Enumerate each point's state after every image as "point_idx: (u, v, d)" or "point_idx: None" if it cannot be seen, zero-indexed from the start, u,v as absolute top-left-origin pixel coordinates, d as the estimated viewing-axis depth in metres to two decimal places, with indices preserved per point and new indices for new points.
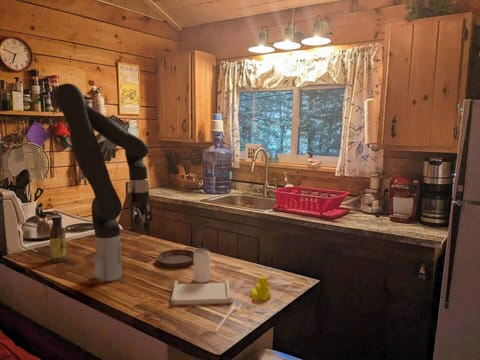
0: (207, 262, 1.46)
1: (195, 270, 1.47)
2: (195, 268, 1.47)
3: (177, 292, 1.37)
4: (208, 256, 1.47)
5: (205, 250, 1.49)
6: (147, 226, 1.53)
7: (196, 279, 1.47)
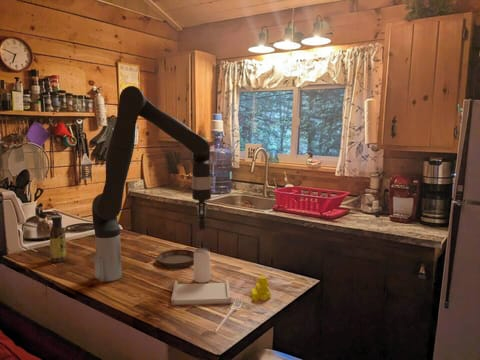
0: (207, 262, 1.46)
1: (195, 270, 1.47)
2: (195, 268, 1.47)
3: (177, 292, 1.37)
4: (208, 256, 1.47)
5: (205, 250, 1.49)
6: None
7: (196, 279, 1.47)
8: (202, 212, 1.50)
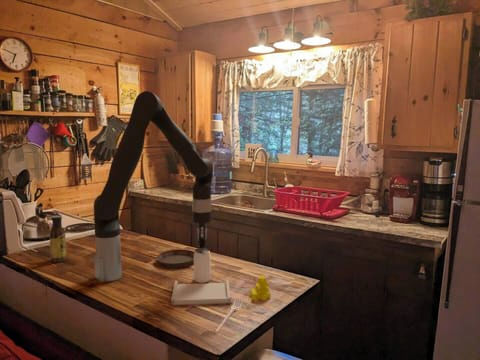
0: (207, 262, 1.46)
1: (195, 270, 1.47)
2: (195, 268, 1.46)
3: (177, 292, 1.37)
4: (208, 257, 1.46)
5: (205, 250, 1.48)
6: None
7: (196, 279, 1.47)
8: (203, 236, 1.45)
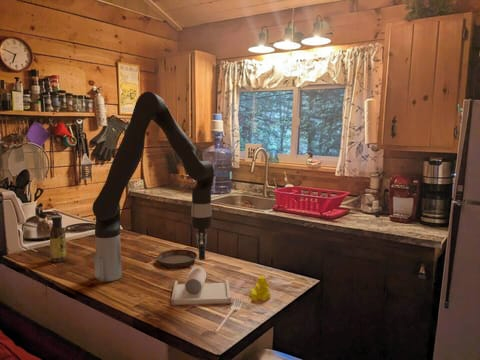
0: None
1: None
2: None
3: (177, 292, 1.37)
4: (202, 287, 1.36)
5: (196, 283, 1.34)
6: None
7: None
8: (202, 242, 1.38)
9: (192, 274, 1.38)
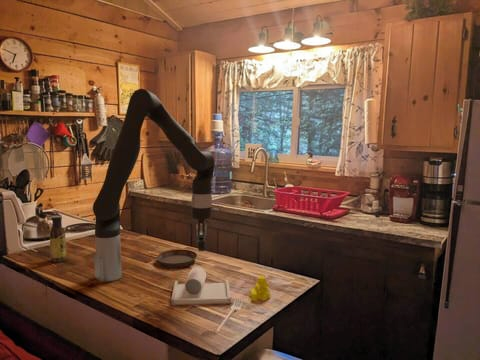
0: None
1: None
2: None
3: (177, 292, 1.37)
4: (202, 287, 1.36)
5: (196, 283, 1.34)
6: None
7: None
8: (202, 233, 1.38)
9: (192, 274, 1.38)
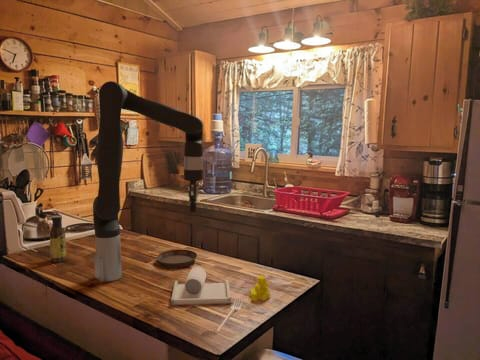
0: None
1: None
2: None
3: (177, 292, 1.37)
4: (202, 287, 1.36)
5: (196, 283, 1.34)
6: None
7: None
8: (193, 193, 1.45)
9: (192, 274, 1.38)
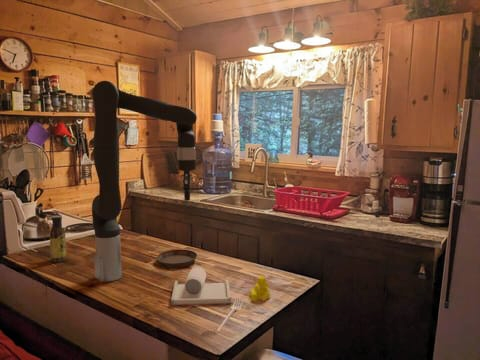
0: None
1: None
2: None
3: (177, 292, 1.37)
4: (202, 287, 1.36)
5: (196, 283, 1.34)
6: None
7: None
8: (187, 182, 1.52)
9: (192, 274, 1.38)
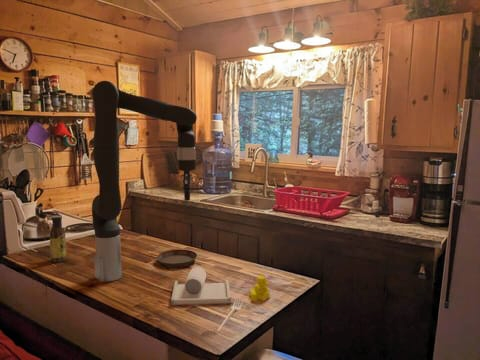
0: None
1: None
2: None
3: (177, 292, 1.37)
4: (202, 287, 1.36)
5: (196, 283, 1.34)
6: None
7: None
8: (187, 182, 1.52)
9: (192, 274, 1.38)
